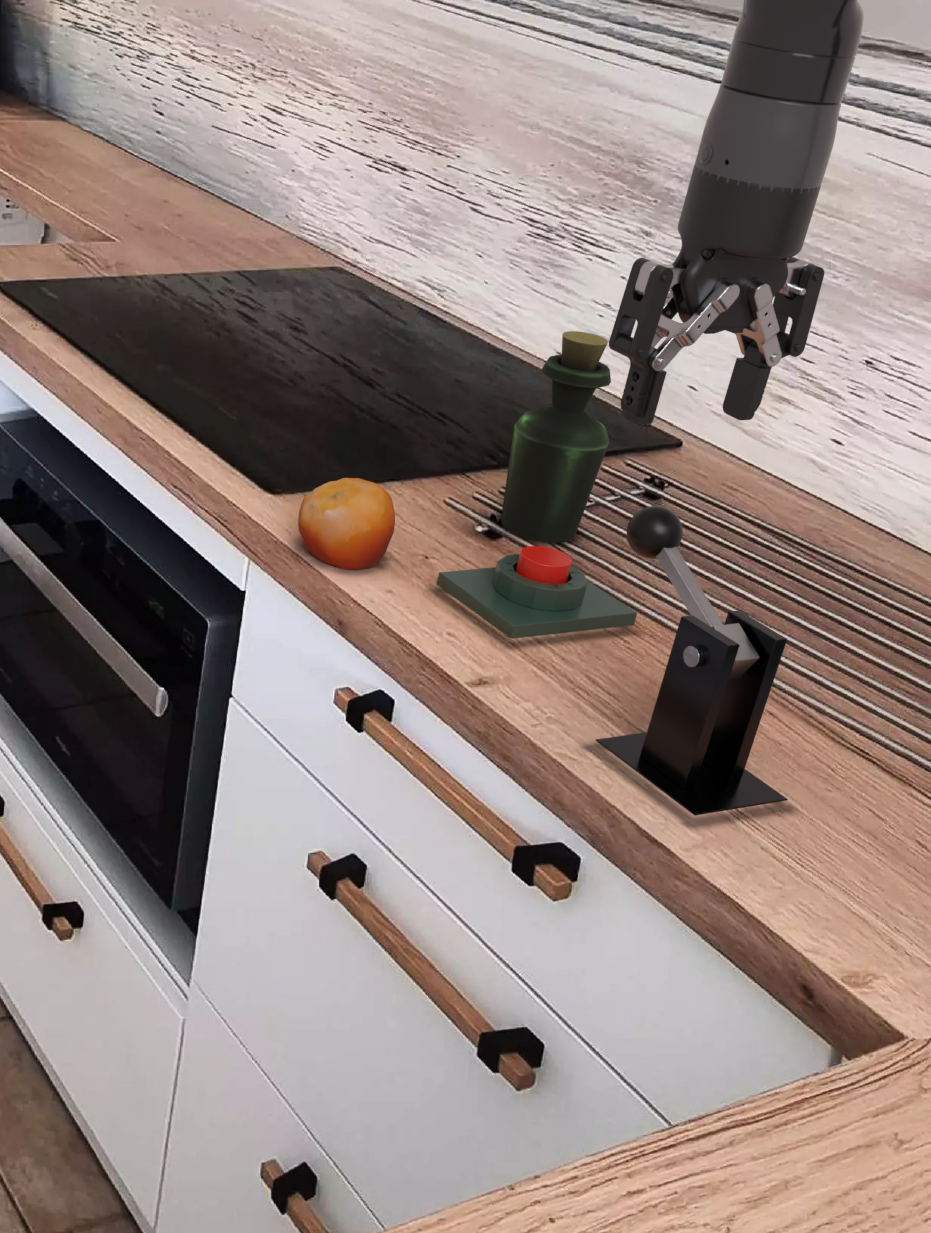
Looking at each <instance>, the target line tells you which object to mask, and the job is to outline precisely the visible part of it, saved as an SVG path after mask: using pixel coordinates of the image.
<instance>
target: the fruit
mask: <svg viewBox="0 0 931 1233" xmlns="http://www.w3.org/2000/svg"><path fill="white" fill-rule="evenodd" d="M297 518H298V520H297V527H298V528H297V529H298V532H299V534H300V537H301V539H302V542H303V544H304V547H305V548H306V550H307V551H308V553H309V554H311V555H312V556H314V557H315V558H317V560H320V561H321V562H324V563H325V564H327V565H330V566H332V567H334V568H337V569H340V570H345V571H363V570H369V569H373V568H375V567H376V566H377V565H379V564H380V563H381V562H383V559H384V557H385V555H386V552H387V550H388V547H389V546H390V543H391V540H392V537H393V535H394V532H395V528H396V513H395V507H394V502H393V499H392V497H391V495H390V493H389V492H388V491H387V490H385V488H383V487H382V486H381V485H380V484H377V483H376V482H373V481H370V480H366V479H363V478H361V477H360V478H359V477H355V478H354V477H342V478H340V479H337V480H331V481H328V482H326V483H323V484H321V485H320V486H318V487H315V488H314V489H313V490H311V491H310V492H309V493H308V494H306V495H305V496H304V497H303V499H302V502H301V504H300V507H299V512H298V517H297Z"/></svg>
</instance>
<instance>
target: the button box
mask: <svg viewBox="0 0 931 1233" xmlns="http://www.w3.org/2000/svg"><path fill="white" fill-rule="evenodd" d="M519 555H520V553H517V554H515V553H514V554H507V555H505V556H503V557H501V559H499V560H497V562H496V565H495V566H493V567H485V568H483V567H482V568H473V569H462V570H461V569H460V570H452V571H439V573H438V576H437V580H436V586H438V587H439V588H441V589H442V590H443V591H444V592H446V593H447V594H449V595H450V596H451V597H453V598H454V599H456V600H457V601H458V602H459V603H461V604H462V605H464V606H465V607H467V608H468V609H469V610H470V611H472V612H474V613H475V614H476V615H477V616H479V617H480V618H482V620H484V621H485V622H487V623H488V624H490V625H491V626H493V627H494V628H495V629H497V630H498V631H499V632H501V633H502V634H504V636H506V637H508V639H511V640H512V639H521V638H529V637H539V636H547V635H558V634H565V633H575V632H585V631H593V630H603V629H610V628H612V629H613V628H620V627H628V626H629V627H630V626H635V623H636V619H637V616H638V612H637V611H635V610H634V609H632V608H630V607H629V606H628V605H626V604H625V603H623V602H621V601H620V600H618V599H617V598H615V597H614V596H612V595H610V594H609V593H607V592H606V591H604V590H603V589H601V587H598V586H597V585H596V584H594V583H592V582H591V581H590V580H588V579H587V577H586V574H585V573H584V572H583V571H582V570H580V569H578V568H577V567H576V566H574V565H572V564H571V567H570V571H569V575H568V579H567V582H566V583H563V584H548V583H541V582H536V581H533V580H530V579H528V578H525V577H522V576H521V575H519V574H518V573H517V572H516V568H517V564H518V560H519Z"/></svg>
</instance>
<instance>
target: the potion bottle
mask: <svg viewBox="0 0 931 1233" xmlns="http://www.w3.org/2000/svg"><path fill="white" fill-rule="evenodd" d="M561 336H562V337H561V354H555V355H551V356H549V357H548V358H547V360H546V361H545V363H544V364H543V366H542V368H541V369H540V372H541V373H542V374H543V375H544V376H545V377H547V378H548V379H550V380H551V381H550V382H551V386H550V387H551V403H548V404H545V405H542V406H539V407H536V408H532V409H529V410H526V411H525V412H523V414H521V416H520V417H519V419H517V421H516V422H515V423H514V425H513V430H512V439H511V445H510V453H509V461H508V467H507V473H506V474H507V475H506V479H505V480H506V481H505V487H504V488H505V489H504V494H503V502H502V509H501V515H500V524H501V525H502V528H504V529H505V530H507V531H508V532H509V533H511V534H513V535H516V536H518V537H520V538H523V539H526V540H531V541H535V542H538V543H539V542H540V543H548V544H549V543H550V544H561V543H568V542H571V541H573V540H574V538H575V537H576V535H577V532H578V529H579V527H580V524H581V521H582V518H583V516H584V512H585V510H586V507H587V505H588V502H589V499H590V496H591V494H592V490H593V488H594V485H595V482H596V480H597V477H598V474H599V472H600V469H601V466H602V463H603V461H604V458H605V455H606V453H607V449H608V446H609V444H610V438H609V435H608V431H607V429H606V426H605V425H604V424H603V423H601V421H599V420H598V419H597V418H596V417H594V415H593V414H591V413H590V412H589V411H587V409H586V408H587V406H588V405H589V403H590V401H591V399H592V397H593V395H594V393H595V391H596V390H597V389H599V388H604V387H608V386H610V384H611V383H612V379H611V369H610V368H609V366H608V365H606V364H604V363H603V362H601V361H600V360H601V358H602V356H603V354H604V352H605V350H606V348H607V346H608V345H609V340H608V339H607V338H605V337H603V336H601V335H598V334H594V333H590V332H587V331H578V330H568V331H564V332H563V333H562V335H561Z"/></svg>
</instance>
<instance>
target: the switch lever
mask: <svg viewBox="0 0 931 1233" xmlns="http://www.w3.org/2000/svg"><path fill="white" fill-rule="evenodd" d="M683 534H684V529H683V525H682V521H681V520H680V518H679V517H678V515H677V514H676V513H675V512H674V511H672V510H671V509H670V508H667V507H664V506H662V505H661V506H660V505H650V506H646V507H643V508H642V509H640V510H638V511H637V512H635V514H633V516H632V517H631V518H630V519H629V522H628V524H627V527H626V540H627V542H628V545H629V547H630V548H631V549H632V551H633V552H634V553H635V554H637V555H638V556H640V557H641V558H644V559H648V560H657V561H658V563H659V564H660V566H661V568H662V570H663V571H664V573H665V574H666V576H667V578H668V580H669V581H670V583H671V585H672V587H673V588H674V590H675V591H676V593H677V595H678V596H679V598H680V600H681V601H682V603H683V605H684V606H685V608H686V610H687V611H688V613H689V616H691V615H693V616H695V617H696V618H698V619H699V620H701V621H703V622H704V623H706V624H707V625H709V626H711V627H712V628H714V629H715V630H717V631H719V632H720V633H722V634H723V635H725V636H727V637H728V638H730V639H731V640H733V641H734V642H736V643H738V644H739V645H740V646H739V649H738V652H737V655H736V659H735V662H734V665H733V668H732V671H731V674H730V678H729V679H736V678H740V677H741V676H742V675H743V674H744V673H745V672H746V671H747V670H748V669H749V668H750V667H751V666H752V665H753V664H754V663H755V662H756V661H757V660H758V659H759V658H760V657H759V655H758V653H757V652H756V650H755V648H754V647H753V645H752V644H751V642H750V640H749V639H748V637H747V635H746V634H745V632H744V630H743V629H742V627H741V625H740V624H739V623H736V624H727V625H724V623H723V622H722V620H721V618H720V617H719V615H718V614H717V612H716V610H715V609H714V607H713V605H712V604H711V602H710V600H709V598H708V597H707V595H706V594H705V592H704V590H703V589H702V587H701V585H700V584H699V582H698V580H697V579H696V577H695V576H694V574H693V572H692V571H691V568H690V567H689V565H688V564H687V563H686V561H685V559H684V557H683V556H682V554H681V552H680V550H679V549H678V547H679V546H680V544H681V542H682V539H683Z"/></svg>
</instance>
